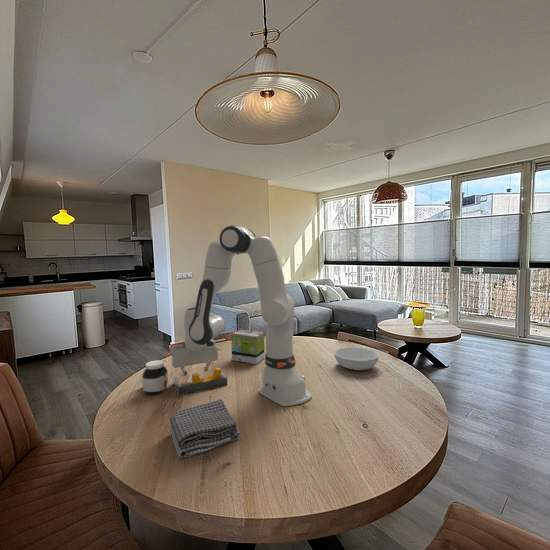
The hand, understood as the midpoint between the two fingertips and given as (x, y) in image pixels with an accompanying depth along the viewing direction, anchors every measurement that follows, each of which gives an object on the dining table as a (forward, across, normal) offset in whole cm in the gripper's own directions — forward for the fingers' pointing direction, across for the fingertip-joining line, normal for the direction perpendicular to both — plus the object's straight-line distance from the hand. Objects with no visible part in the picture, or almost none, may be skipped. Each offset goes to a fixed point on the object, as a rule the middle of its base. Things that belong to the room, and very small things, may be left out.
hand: (195, 373), depth 133 cm
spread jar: (+3, -18, -1) cm, 18 cm away
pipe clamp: (+3, +2, -8) cm, 9 cm away
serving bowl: (+3, +72, -25) cm, 77 cm away
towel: (+3, -8, -44) cm, 45 cm away
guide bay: (+3, 0, -5) cm, 6 cm away
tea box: (+3, +31, +11) cm, 33 cm away
